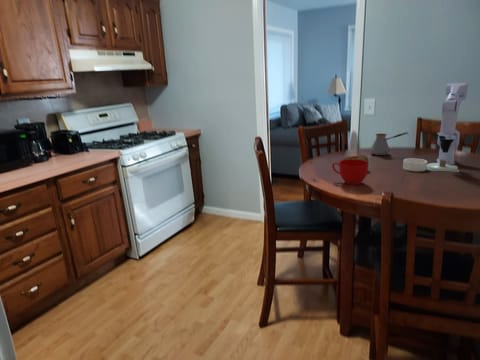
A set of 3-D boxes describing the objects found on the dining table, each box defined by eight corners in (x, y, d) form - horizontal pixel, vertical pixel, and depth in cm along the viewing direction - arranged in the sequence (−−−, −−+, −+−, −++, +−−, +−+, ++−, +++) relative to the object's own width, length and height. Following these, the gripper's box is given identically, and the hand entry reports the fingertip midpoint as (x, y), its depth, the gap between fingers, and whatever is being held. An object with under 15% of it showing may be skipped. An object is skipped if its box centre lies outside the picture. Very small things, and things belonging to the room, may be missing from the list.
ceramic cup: (337, 176, 172) (338, 157, 169) (371, 181, 162) (372, 161, 159) (326, 183, 162) (326, 162, 160) (361, 188, 152) (362, 167, 149)
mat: (425, 164, 187) (425, 163, 186) (455, 166, 181) (455, 165, 181) (427, 170, 174) (427, 170, 174) (459, 172, 169) (459, 172, 169)
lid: (425, 163, 186) (426, 156, 185) (455, 165, 181) (456, 157, 179) (427, 170, 174) (428, 162, 173) (459, 172, 169) (460, 163, 167)
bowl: (402, 165, 186) (403, 157, 184) (425, 167, 181) (426, 159, 180) (402, 171, 176) (403, 162, 175) (426, 172, 172) (427, 163, 170)
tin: (343, 173, 178) (344, 157, 175) (340, 171, 181) (340, 156, 178) (368, 169, 181) (369, 154, 179) (364, 168, 184) (365, 153, 182)
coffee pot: (367, 155, 213) (368, 131, 209) (373, 151, 222) (374, 129, 218) (403, 158, 201) (406, 133, 196) (408, 155, 209) (411, 130, 205)
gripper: (437, 122, 179) (434, 147, 183) (440, 126, 166) (436, 153, 170) (452, 122, 176) (449, 148, 180) (456, 126, 163) (453, 154, 167)
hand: (444, 150), depth 175 cm, fingers open, 7 cm apart
